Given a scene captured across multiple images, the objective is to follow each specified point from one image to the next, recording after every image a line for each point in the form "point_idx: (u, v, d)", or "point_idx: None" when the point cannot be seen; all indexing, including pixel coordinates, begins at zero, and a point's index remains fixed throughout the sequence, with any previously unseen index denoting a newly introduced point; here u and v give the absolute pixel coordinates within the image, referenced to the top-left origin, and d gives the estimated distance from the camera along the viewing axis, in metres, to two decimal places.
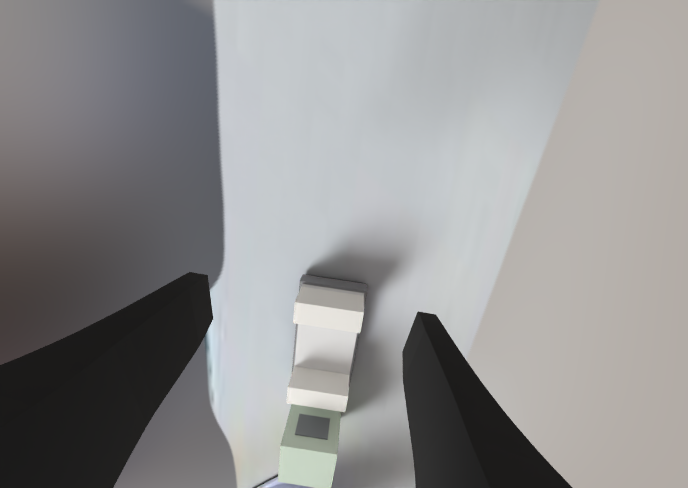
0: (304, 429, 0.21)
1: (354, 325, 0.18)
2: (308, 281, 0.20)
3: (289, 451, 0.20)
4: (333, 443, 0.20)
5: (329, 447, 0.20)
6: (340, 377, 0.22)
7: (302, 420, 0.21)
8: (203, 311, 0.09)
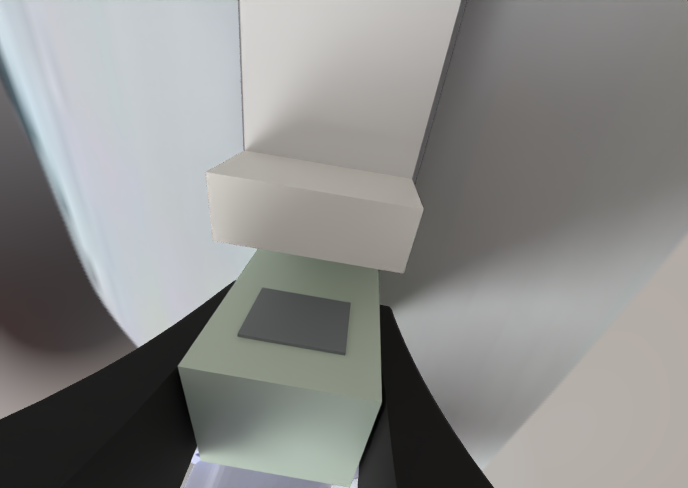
0: (272, 323, 0.07)
1: None
2: None
3: (213, 384, 0.06)
4: (365, 366, 0.06)
5: (352, 377, 0.06)
6: (387, 178, 0.07)
7: (268, 302, 0.07)
8: None
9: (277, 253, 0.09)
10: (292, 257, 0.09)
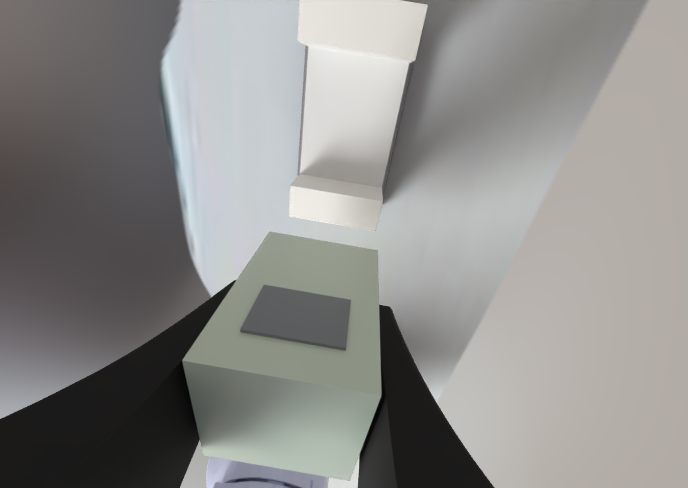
0: (274, 319, 0.07)
1: (407, 40, 0.10)
2: None
3: (217, 378, 0.06)
4: (365, 361, 0.06)
5: (352, 372, 0.06)
6: (369, 187, 0.15)
7: (270, 299, 0.07)
8: None
9: (278, 251, 0.09)
10: (293, 255, 0.09)
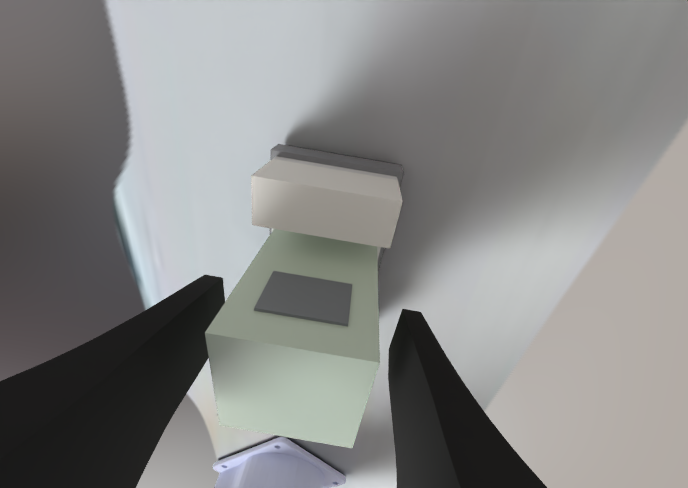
0: (283, 299, 0.07)
1: (379, 231, 0.09)
2: (287, 151, 0.10)
3: (235, 349, 0.07)
4: (365, 335, 0.07)
5: (354, 344, 0.07)
6: None
7: (279, 283, 0.08)
8: None
9: (285, 242, 0.10)
10: (299, 246, 0.10)
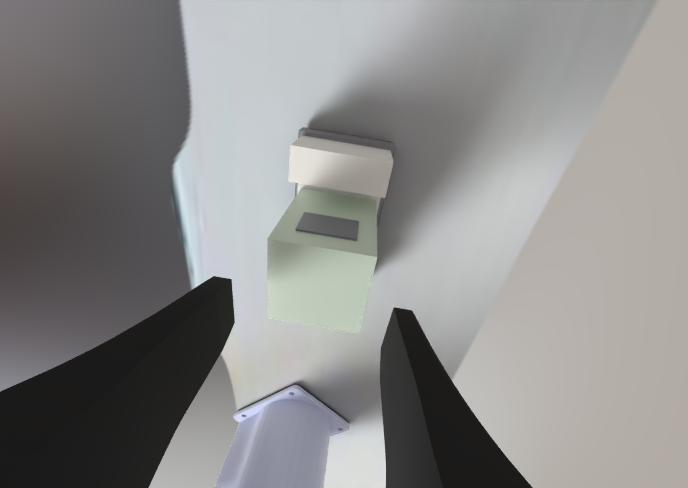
0: (313, 225, 0.11)
1: (377, 185, 0.12)
2: (311, 132, 0.14)
3: (285, 250, 0.10)
4: (368, 245, 0.11)
5: (361, 248, 0.10)
6: None
7: (309, 218, 0.12)
8: (226, 315, 0.09)
9: (309, 198, 0.14)
10: (319, 200, 0.14)
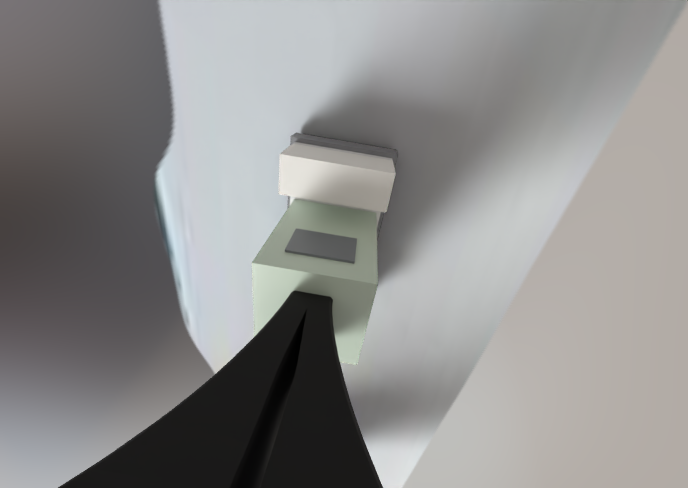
0: (305, 245, 0.10)
1: (378, 198, 0.11)
2: (304, 138, 0.13)
3: (272, 276, 0.09)
4: (367, 269, 0.09)
5: (359, 273, 0.09)
6: None
7: (301, 235, 0.11)
8: None
9: (302, 211, 0.13)
10: (313, 213, 0.13)
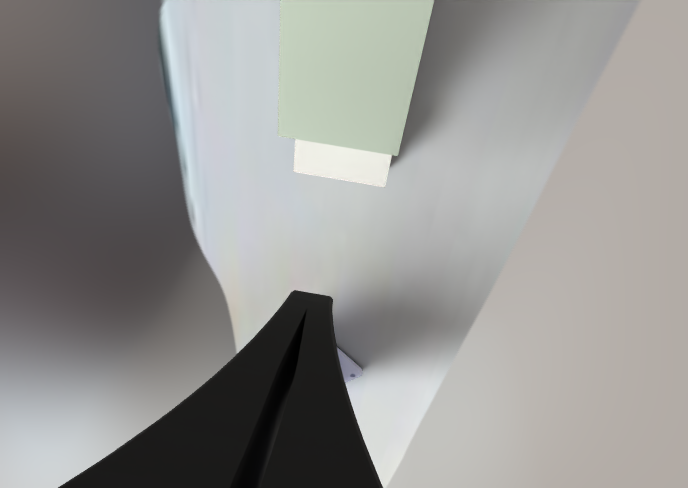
0: None
1: None
2: None
3: None
4: None
5: None
6: None
7: None
8: None
9: None
10: None
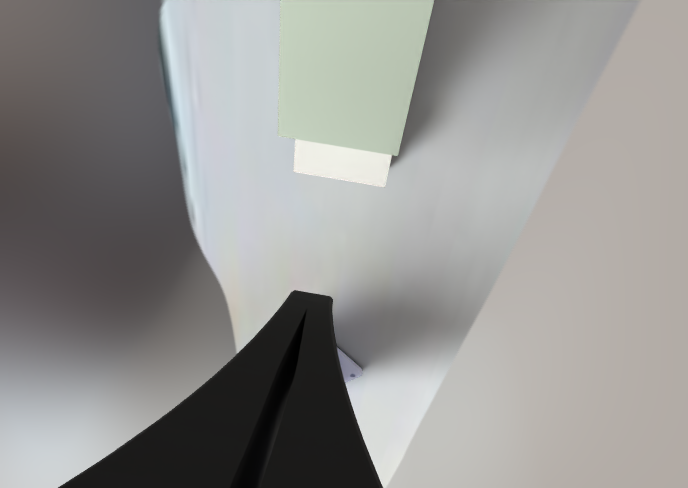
0: None
1: None
2: None
3: None
4: None
5: None
6: None
7: None
8: None
9: None
10: None
